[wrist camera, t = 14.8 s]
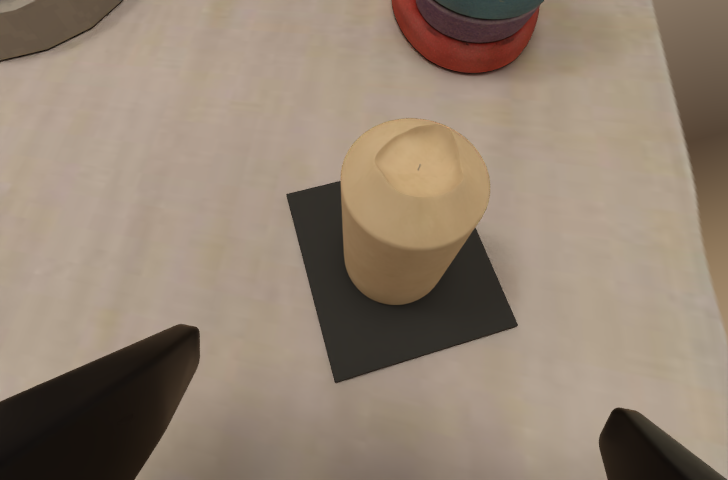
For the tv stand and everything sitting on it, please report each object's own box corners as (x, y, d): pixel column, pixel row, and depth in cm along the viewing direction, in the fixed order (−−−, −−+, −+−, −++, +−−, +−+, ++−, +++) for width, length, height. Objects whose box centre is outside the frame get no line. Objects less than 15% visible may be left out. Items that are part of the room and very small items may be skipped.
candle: (387, 196, 25) (408, 66, 15) (462, 254, 23) (535, 150, 14) (323, 262, 23) (304, 160, 14) (400, 328, 22) (438, 266, 12)
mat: (516, 326, 22) (518, 325, 22) (335, 382, 21) (334, 382, 20) (443, 158, 26) (444, 155, 26) (287, 196, 25) (286, 194, 24)
